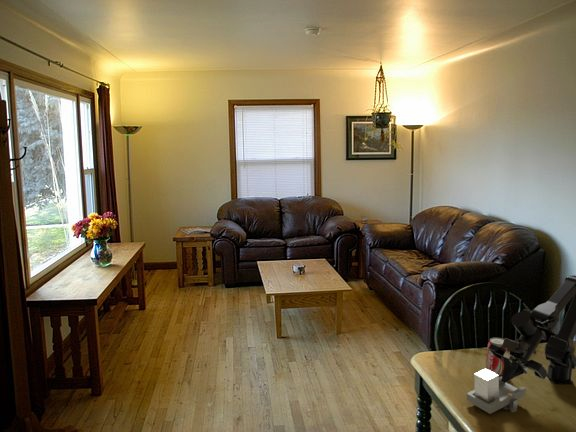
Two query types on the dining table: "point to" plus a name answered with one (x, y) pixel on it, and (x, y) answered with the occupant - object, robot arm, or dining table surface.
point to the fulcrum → (511, 405)
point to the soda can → (495, 358)
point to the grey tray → (505, 397)
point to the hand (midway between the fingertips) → (502, 381)
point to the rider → (486, 386)
